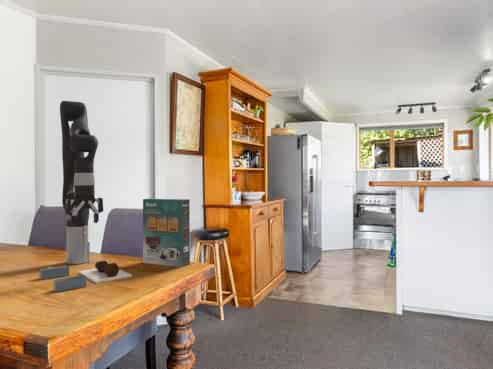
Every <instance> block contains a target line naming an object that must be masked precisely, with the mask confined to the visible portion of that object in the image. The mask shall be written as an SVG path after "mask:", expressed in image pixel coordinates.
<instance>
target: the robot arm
mask: <svg viewBox="0 0 493 369" xmlns="http://www.w3.org/2000/svg"><path fill="white" fill-rule="evenodd" d="M59 115H60V116H59V117H60V128H61V142H62V145H61V149H62V150H61V153H62V155H61V156H62V158H61V159H62V174H63V175H62V177H63V178H62V179H63V180H62V199H61V200H62V202H61V203H62V207H63V210H64V213H65V215H68V216H70V218H69V219H67V220H66V264H67V265H80V264H86V263H89V262H90V261H91V260H90V259H91V257H90V255H91V254H90V247H91V246H90V245H91V244H90V243H91V242H90V241H89V220H90V210H91V212H93V223H94V224H97V223H98V222H99V221H100V219H99V218H100V216H99V215H100V213H103V212H104V199H103V197H97V198H95V195H96V194H95V184H96V182H95V174H94V172H95V171H94V170H95V169H94V165H95V164H94V162H95V156H96V153H97V149H98V146H99V140H98V138H97V137H96V136H95V135H92V134H91V132H90V131H91V130H90V128H89V124H88V123H89V122H88V121H89V120H88V119H89V118H88V110H87V106H86V104H85V103H84V102H81V101H73V100H62V101H61V102H60V104H59ZM69 122H72V123H71V125H70V123H69ZM85 153H88V154H87V156H85ZM95 204H97V207H96V206H95Z"/></svg>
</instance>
